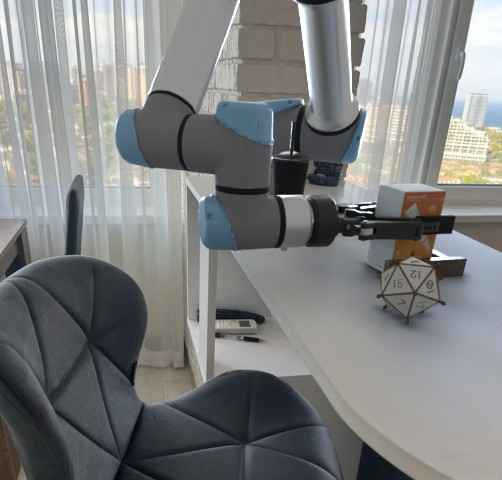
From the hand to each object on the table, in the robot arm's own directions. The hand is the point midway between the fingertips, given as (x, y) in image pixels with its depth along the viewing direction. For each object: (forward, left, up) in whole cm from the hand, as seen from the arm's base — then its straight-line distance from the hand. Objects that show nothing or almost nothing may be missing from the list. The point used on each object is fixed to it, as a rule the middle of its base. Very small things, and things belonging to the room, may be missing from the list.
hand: (436, 218), depth 81 cm
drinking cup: (-26, -15, -8) cm, 32 cm away
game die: (+18, -15, -8) cm, 25 cm away
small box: (0, -6, -8) cm, 10 cm away
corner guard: (-4, -4, -8) cm, 10 cm away
